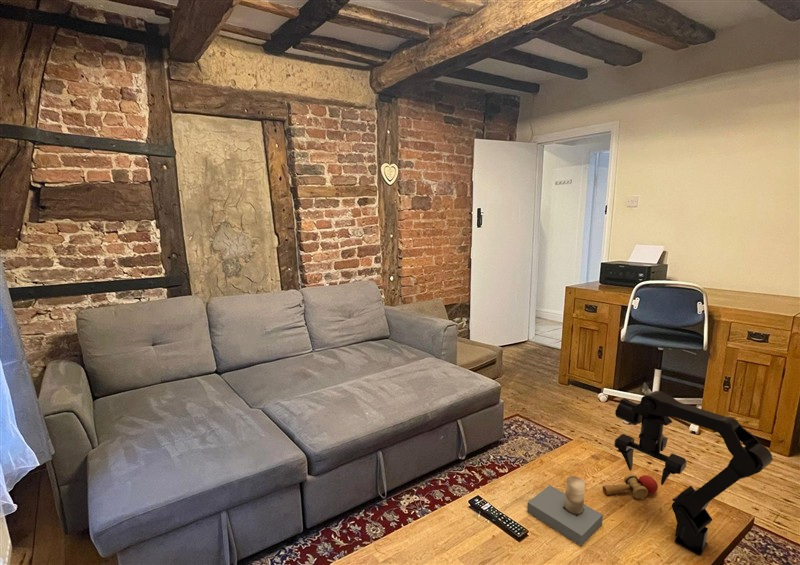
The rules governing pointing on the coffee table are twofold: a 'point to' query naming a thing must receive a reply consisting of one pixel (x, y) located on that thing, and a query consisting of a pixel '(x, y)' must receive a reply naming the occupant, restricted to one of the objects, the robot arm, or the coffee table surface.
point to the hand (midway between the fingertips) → (646, 477)
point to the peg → (574, 495)
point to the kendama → (634, 486)
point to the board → (564, 515)
